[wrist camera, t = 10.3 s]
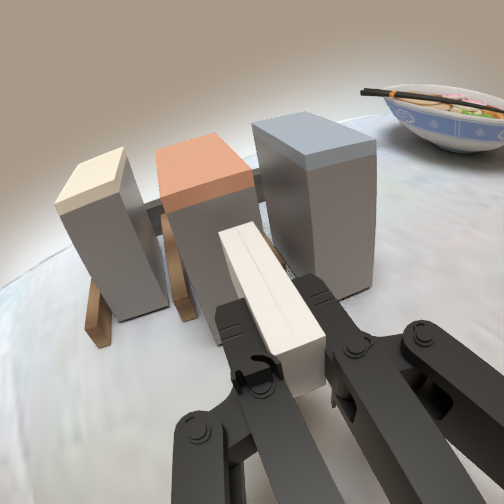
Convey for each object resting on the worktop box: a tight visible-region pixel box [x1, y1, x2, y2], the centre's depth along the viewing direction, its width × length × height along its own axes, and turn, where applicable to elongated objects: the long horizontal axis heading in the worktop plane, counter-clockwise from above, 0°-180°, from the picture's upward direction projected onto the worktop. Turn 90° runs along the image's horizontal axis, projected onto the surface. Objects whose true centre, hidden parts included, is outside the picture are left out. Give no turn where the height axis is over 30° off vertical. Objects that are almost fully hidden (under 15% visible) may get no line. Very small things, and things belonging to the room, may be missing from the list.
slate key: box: [251, 112, 377, 300], centre depth 20 cm, size 8×4×10 cm, turn 18°
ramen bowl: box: [360, 84, 504, 154], centre depth 35 cm, size 25×23×8 cm
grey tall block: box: [54, 147, 169, 322], centre depth 22 cm, size 8×4×10 cm, turn 18°
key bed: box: [85, 168, 287, 348], centre depth 26 cm, size 14×20×3 cm
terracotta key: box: [155, 133, 265, 345], centre depth 19 cm, size 8×4×10 cm, turn 18°
